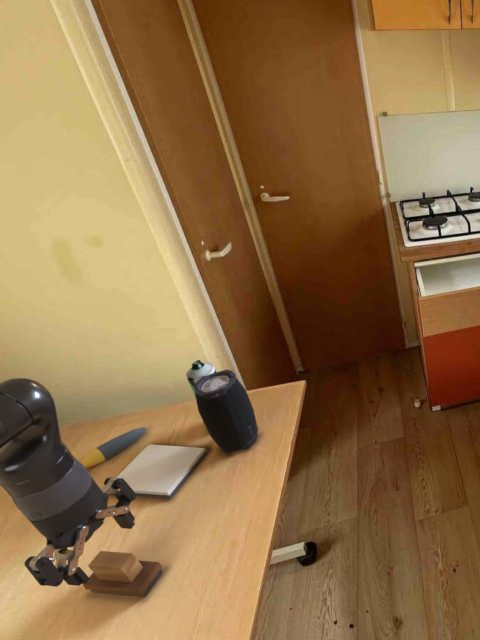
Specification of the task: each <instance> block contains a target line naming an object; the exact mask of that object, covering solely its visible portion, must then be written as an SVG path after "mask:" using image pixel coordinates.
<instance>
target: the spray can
mask: <svg viewBox="0 0 480 640" xmlns="http://www.w3.org/2000/svg"><path fill="white" fill-rule="evenodd" d="M216 372H217V371H216V368H215V366H214V365H213V364H212V362H204V361H203V362H202V361H201V360H200V359H197V360H196V361H194V362H192V363H191V367H190V368H189V369H188V370H187V371H186V373H185V376H186V380H187V382H188V384H189V386H190V388H191V390H192V392H193V394H194V395H195V390H194V386H195V384H196V382H197V381H198V380H199V379H200V378H202V377H203V376H206V375H210V374H213V373H216Z"/></svg>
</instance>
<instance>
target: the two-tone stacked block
mask: <svg viewBox="0 0 480 640" xmlns="http://www.w3.org/2000/svg"><path fill="white" fill-rule="evenodd" d="M87 567H88V568H89V569H90V570H91V571H92V573H91V574H90V575H89V576H88V577H89V578H90V579H89V580H88V581H87V582H86V584H82V587H83V588H84V589H85V590H87V591H90V592H91V593H92V594H102V595H113V596H114V595H115V596H123V597H125V596H126V597H137V598H146V597H147V596H148V595H149V593H150V592H151V590H152V589H153V588H154V587H155V585H156V583H157V582H158V580H159V579H160V578H161V577H162V576H163V574H164V571H163V569H162V568H163V565H162V564H161V563H160V561H149V560H139V559H138V558H137V557H136V556H135V554H134V553H132V552H121V551H109V550H100V551H99V552H98V553H97V555H96V556H94V558H93V559H92V560H91V561H90V562H89V564H88V565H87Z"/></svg>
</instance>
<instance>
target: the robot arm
mask: <svg viewBox="0 0 480 640" xmlns="http://www.w3.org/2000/svg"><path fill="white" fill-rule="evenodd" d="M57 412H58V411H57V406H56V402H55V399H54V397H53V395H52V393H51V391H50V390H49V389H48V388H47V387H46V386H45V385H44V384H42V383H40V382H39V381H37V380H34V379H31V378H26V377H12V378H8V379H5V380H3V381H1V382H0V486H1V487H2V488H3V489H4V491H6V493H7V494H8V495H9V496H10V497H11V499H12V501H13V503H14V505H15V507H16V508H17V509H18V510H19V511H20V513H22V514H23V516H24V517H25V518H26V519H27V520H28V521H29V523H30V524H32V526H33V527H34V528H35V529H36V530H37V531H38V532H39V533H40V534H41V535H42V536H43V537H44V538H45V539H46V546H45V547H44V548H43V549H42V550H41V551H40V552H39V553H38V554H37V555H36V556H35V555H31V556H29V557H28V558H27V559H26V560H25V561H24V567H25V568H26V569H27V570H28V572H29V573H30V574H31V575H32V577H33V578H34V579H35V581H36V582H37V583H38V585H39V586H41V587H44V586H48V587H55V588H57V587H59V586H61V584H62V583H63V582H65V583H66V584H67V585H68V586H76V587H78V586H79V587H80V586H81V585H83V584H86V582H87V581H88V580H89V579H90V578H89V577H90V576H89V575H88V574H87V573H86V572H85V571H84V570H83V568H81V567H80V566H79V560H80V557H82V556H83V554H84V550H85V544H86V543H88V541H89V540H90V539H91V538H92V536H93V535H94V533H95V532H96V531H97V530H99V529H100V528H101V526H103V524H105V519H106V518H109V517H112V519H113V520H114V521H115V522H116V523H117V525H118V526H119V527H120V528H121V529H129V530H132V529H133V527H134V526H135V525H136V523H135V520H136V517H135V516H134V514H133V513H132V511H131V510H130V509H131V508H130V507H131V506H130V505H131V503H132V502H135V500H136V499H137V498H138V497H137V494H136V493H135V492H134V491H133V490H132V488H131V487H130V486H129V485H128V484H127V482H126V481H125V480H124V479H123V478H116V477H107V478H105V479H104V481H103V485H104V487H102V488H100V486H99V484H98V483H97V482H96V480H95V479H94V477H93V476H92V475H91V473H90V472H89V470H88V468H85V467H84V466H83V465H82V464H81V463H80V462H79V461H80V460H78V459H77V458H76V457H75V456H74V454H73V453H72V452H71V450H70V449H69V448H68V446H67V445H66V444H65V443H64V440H62V435H61V430H60V426H59V425H60V424H59V420H58V413H57ZM108 494H113V495H112V496H114V497H115V499H116V500H117V502H116V504H112V505H111V504H110V505H108V504H109V497H110V495H108ZM68 548H72V549H68ZM54 562H55V564H54Z"/></svg>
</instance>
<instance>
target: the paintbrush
mask: <svg viewBox="0 0 480 640" xmlns="http://www.w3.org/2000/svg"><path fill="white" fill-rule="evenodd" d="M146 431H147V427H143V426H142V427H139V428H135V429H132V430H129V431H126V432H124V433H122V434H120V435H118V436H116V437H113V438H111V439H109V440H108V441H106V442H104V443H102V444H100V445H99V446H97V447H95V448H94V449H93V450H91V451H90V452H89V453H88V454H86V455H85V456H84V457H83V458H82V459H80V460H78V461H79V462H80V463H81V464H82V465H83V466H84V467H85V468H86V469H89V468H92V467H94V466H97V465H100V464H102V463H104V462H106V461H108V460H110V459H112V458H113V457H115V456H116V455H118V454H120V453H121V452H122V451H124V450H125V449H127V448H128V447H130V446H131V445H133V444H134V443H135V442H136V441H138V440H139V439H140V438H141V437H142V436H143V435H144V434H145V433H146Z"/></svg>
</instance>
